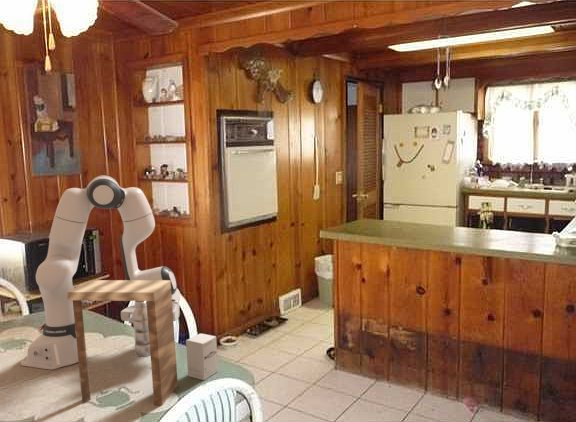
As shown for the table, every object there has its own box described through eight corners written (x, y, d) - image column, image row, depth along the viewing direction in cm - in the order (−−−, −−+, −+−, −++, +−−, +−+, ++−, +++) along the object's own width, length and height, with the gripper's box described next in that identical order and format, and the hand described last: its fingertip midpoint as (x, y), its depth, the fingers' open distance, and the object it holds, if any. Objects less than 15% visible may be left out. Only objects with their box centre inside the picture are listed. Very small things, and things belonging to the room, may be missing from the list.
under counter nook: (77, 401, 155) (66, 292, 151) (99, 382, 168) (89, 280, 163) (162, 405, 151) (153, 292, 147) (177, 384, 164) (170, 280, 160)
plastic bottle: (148, 360, 174) (144, 304, 171) (131, 358, 176) (126, 303, 173) (158, 352, 180) (154, 298, 177) (141, 350, 182) (137, 297, 179)
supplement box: (204, 381, 166) (202, 343, 164) (187, 376, 170) (185, 339, 168) (218, 372, 172) (216, 336, 170) (202, 367, 176) (200, 332, 174)
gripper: (129, 299, 190) (111, 312, 176) (182, 300, 187) (168, 312, 173) (130, 316, 191) (113, 329, 177) (183, 316, 188) (169, 330, 174)
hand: (141, 321), depth 175 cm, fingers closed on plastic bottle, 6 cm apart
